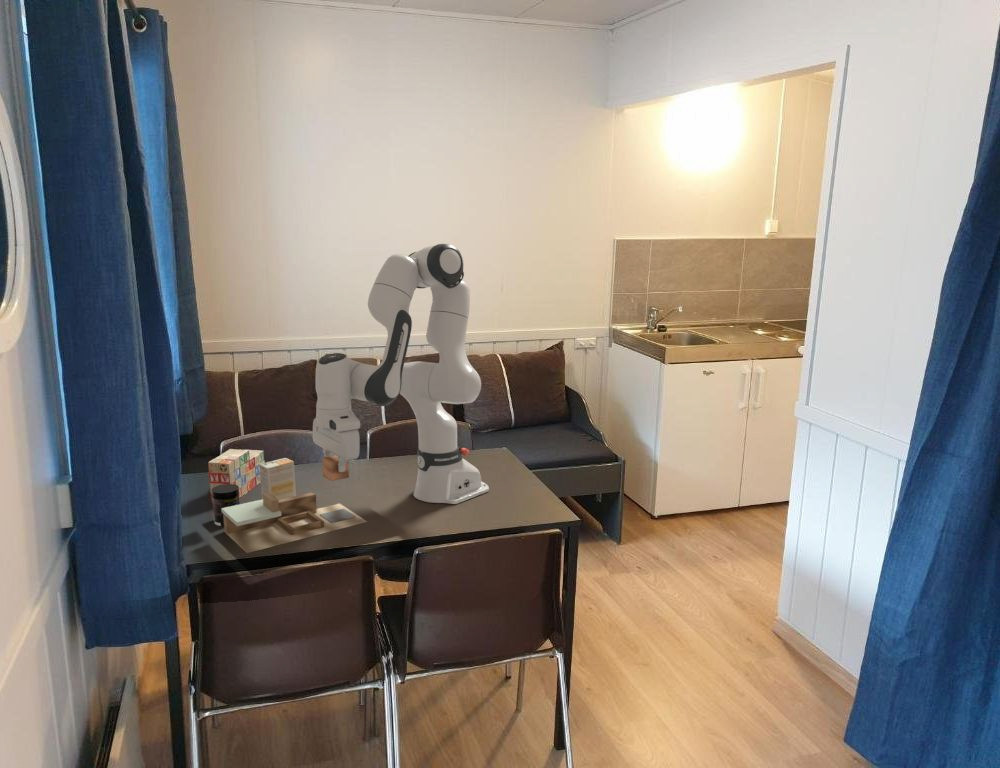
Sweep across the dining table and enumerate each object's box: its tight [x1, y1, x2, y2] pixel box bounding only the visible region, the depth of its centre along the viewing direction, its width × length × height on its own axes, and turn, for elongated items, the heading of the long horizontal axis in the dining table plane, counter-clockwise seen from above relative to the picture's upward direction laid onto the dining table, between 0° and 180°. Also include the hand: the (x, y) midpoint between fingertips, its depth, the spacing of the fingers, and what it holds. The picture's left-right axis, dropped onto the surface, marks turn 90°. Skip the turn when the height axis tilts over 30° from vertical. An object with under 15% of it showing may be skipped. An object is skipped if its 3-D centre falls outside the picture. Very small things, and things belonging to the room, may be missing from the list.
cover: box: [221, 493, 281, 526], centre depth 193 cm, size 11×11×4 cm
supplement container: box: [212, 484, 241, 527], centre depth 202 cm, size 7×7×10 cm
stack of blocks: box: [208, 448, 266, 504], centre depth 228 cm, size 21×6×12 cm, turn 170°
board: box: [223, 491, 368, 554], centre depth 200 cm, size 32×16×7 cm, turn 128°
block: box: [321, 454, 350, 482], centre depth 204 cm, size 5×5×5 cm
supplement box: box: [259, 457, 297, 500], centre depth 215 cm, size 8×5×13 cm, turn 134°
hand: (335, 468), depth 204 cm, fingers closed on block, 5 cm apart
